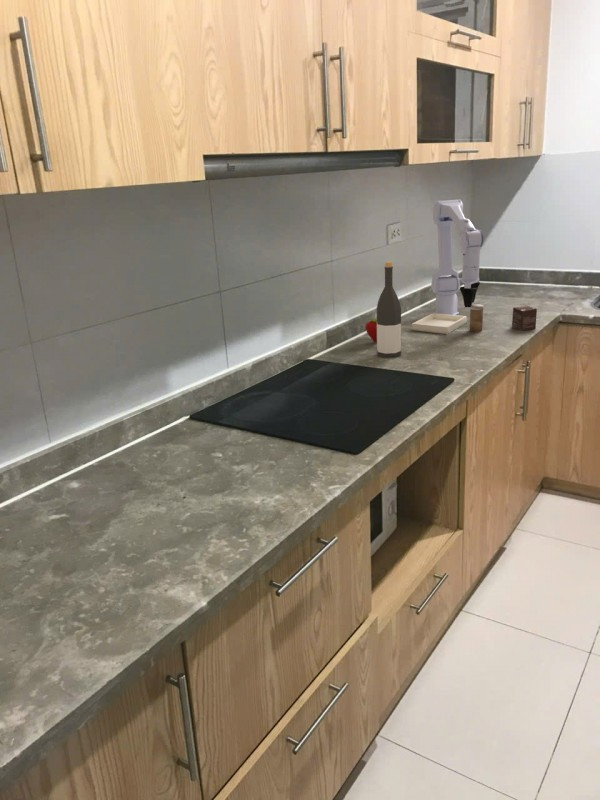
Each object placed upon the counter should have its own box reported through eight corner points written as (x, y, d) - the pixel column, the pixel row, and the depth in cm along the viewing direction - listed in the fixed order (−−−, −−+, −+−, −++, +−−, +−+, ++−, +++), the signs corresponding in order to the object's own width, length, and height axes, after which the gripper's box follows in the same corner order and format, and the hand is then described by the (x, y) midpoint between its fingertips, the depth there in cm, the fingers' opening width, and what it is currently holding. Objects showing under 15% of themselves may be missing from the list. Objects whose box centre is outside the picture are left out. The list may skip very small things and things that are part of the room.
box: (525, 325, 236) (527, 305, 234) (536, 328, 231) (537, 308, 228) (511, 327, 234) (512, 307, 232) (521, 330, 229) (522, 310, 226)
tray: (432, 319, 251) (432, 313, 250) (466, 322, 244) (467, 316, 243) (411, 330, 238) (411, 323, 237) (447, 334, 230) (447, 327, 229)
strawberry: (371, 339, 229) (370, 311, 226) (389, 341, 225) (389, 313, 221) (362, 343, 225) (361, 315, 222) (380, 345, 221) (380, 317, 217)
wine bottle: (372, 353, 213) (371, 261, 202) (393, 349, 215) (393, 259, 205) (383, 359, 206) (383, 265, 195) (406, 355, 208) (406, 262, 198)
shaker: (472, 328, 236) (473, 304, 233) (484, 329, 233) (485, 305, 230) (467, 331, 232) (468, 306, 229) (479, 332, 230) (480, 307, 227)
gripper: (462, 262, 233) (461, 300, 237) (455, 269, 220) (454, 308, 225) (482, 263, 230) (480, 300, 235) (477, 269, 218) (475, 309, 222)
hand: (469, 304), depth 230 cm, fingers open, 7 cm apart
